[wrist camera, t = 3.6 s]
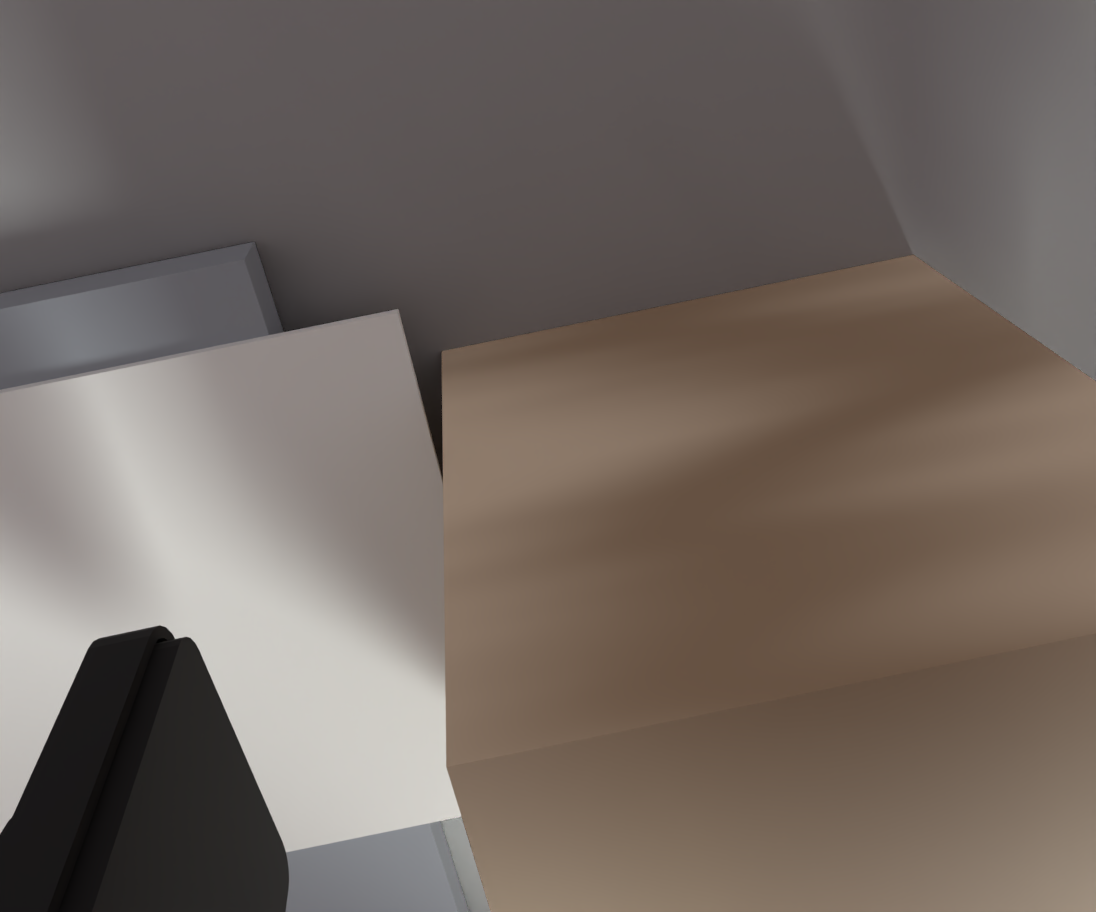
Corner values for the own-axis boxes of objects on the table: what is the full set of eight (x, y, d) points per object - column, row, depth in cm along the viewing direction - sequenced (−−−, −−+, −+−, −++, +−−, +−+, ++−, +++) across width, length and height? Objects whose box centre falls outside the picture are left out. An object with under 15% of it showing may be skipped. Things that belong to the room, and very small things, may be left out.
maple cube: (911, 252, 11) (1377, 575, 5) (915, 630, 13) (1242, 1113, 8) (441, 349, 11) (445, 766, 5) (529, 709, 13) (594, 1249, 8)
